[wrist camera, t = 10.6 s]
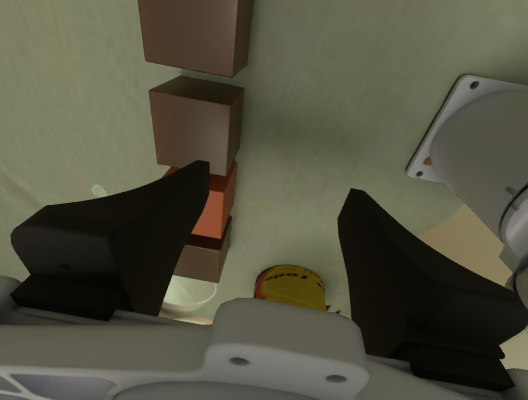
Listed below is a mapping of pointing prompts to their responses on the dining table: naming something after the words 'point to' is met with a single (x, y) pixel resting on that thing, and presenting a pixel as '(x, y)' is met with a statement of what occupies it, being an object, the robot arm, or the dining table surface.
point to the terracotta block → (215, 203)
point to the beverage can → (291, 287)
